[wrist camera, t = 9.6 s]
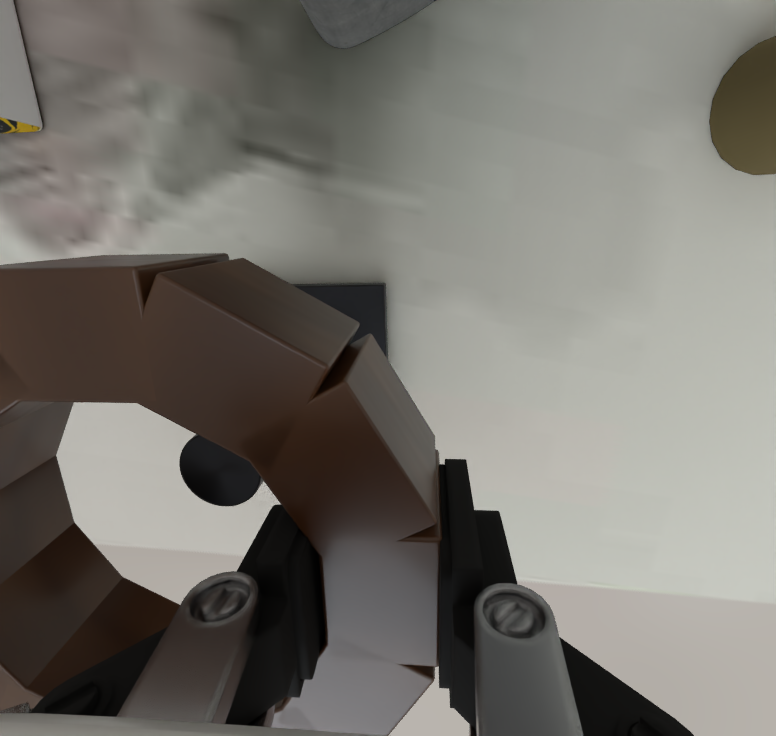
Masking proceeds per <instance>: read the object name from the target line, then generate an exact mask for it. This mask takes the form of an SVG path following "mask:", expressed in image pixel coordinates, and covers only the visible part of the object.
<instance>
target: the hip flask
mask: <svg viewBox="0 0 776 736" xmlns="http://www.w3.org/2000/svg"><path fill="white" fill-rule="evenodd" d="M299 1H300V2H301V4H302V6H303V8H304V9H305V11H306V13H307V15H308V16H309V18H310V20H311V21H312V23H313V25H314V27H315V28H316V30H317V32H318V33H319V35H320V36H321V37H322V38H323V39H324V40H325V41H326V42H327V43H328V44H330V45H332V46H334V47H337V48H351V47H354V46H356V45H358V44H360V43H363V42H365V41H367V40H369V39H371V38H373V37H375V36H377V35H379V34H380V33H382V32H384V31H386V30H388V29H390V28H391V27H393V26H395V25H397V24H399V23H400V22H402V21H404V20H405V19H407V18H409V17H410V16H412V15H414V14H415V13H417V12H418V11H420V10H422V9H423V8H425V7H426V6H428V5H429V4H431V3H432V2H434V1H435V0H299Z"/></svg>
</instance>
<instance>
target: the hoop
mask: <svg viewBox="0 0 776 736" xmlns="http://www.w3.org/2000/svg"><path fill="white" fill-rule="evenodd" d="M358 328H359V322H357V321H356V320H354V319H352V318H350V317H348V316H347V315H345V314H343V313H341V312H340V311H338V310H336V309H334V308H332V307H331V306H329V305H327V304H325V303H323V302H322V301H320V300H318V299H316V298H314V297H313V296H311V295H309V294H307V293H305V292H304V291H302V290H300V289H298V288H297V287H295V286H293V285H291V284H289V283H288V282H286V281H284V280H282V279H280V278H279V277H277V276H275V275H273V274H271V273H270V272H268V271H266V270H264V269H262V268H261V267H259V266H257V265H255V264H253V263H252V262H250V261H248V260H246V259H245V258H240V259H234V260H229V256H228V254H225V253H215V254H155V255H102V256H91V257H80V258H70V259H59V260H48V261H37V262H27V263H16V264H5V265H0V711H1V710H4V709H7V708H10V707H14V706H17V705H20V704H23V703H26V702H28V703H29V706H30V709H32V708H34V707H35V706H36V705H37V704H38V702H39V701H40V700H41V699H42V698H44V697H45V696H46V695H47V694H48V693H49V692H50V691H52V690H53V689H54V688H56V687H57V686H59V685H60V684H62V683H63V682H65V681H67V680H68V679H70V678H72V677H74V676H76V675H77V674H79V673H81V672H83V671H85V670H87V669H89V668H91V667H93V666H94V665H96V664H98V663H100V662H102V661H104V660H106V659H108V658H110V657H111V656H113V655H115V654H117V653H119V652H121V651H123V650H125V649H127V648H128V647H130V646H132V645H134V644H136V643H138V642H140V641H142V640H144V639H145V638H147V637H149V636H151V635H153V634H155V633H157V632H159V631H161V630H162V629H164V628H166V627H168V626H169V624H170V622H171V621H172V619H173V617H174V615H175V614H176V612H177V610H178V608H179V607H180V605H179V604H177V603H175V602H173V601H171V600H169V599H167V598H165V597H163V596H161V595H158V594H157V593H154V592H152V591H150V590H148V589H146V588H144V587H142V586H140V585H138V584H136V583H134V582H132V581H130V580H128V579H126V578H123V577H122V576H121V575H120V573H119V572H118V571H117V570H116V569H115V568H114V567H113V566H112V564H111V563H110V562H109V561H108V560H107V559H106V558H105V556H104V555H103V554H102V553H101V552H100V551H99V550H98V549H97V547H96V546H95V545H94V544H93V543H92V542H91V541H90V539H89V538H88V537H87V536H86V535H85V534H84V533H83V532H82V530H81V529H80V528H79V527H78V526H77V525H76V524H75V523H74V520H73V516H72V512H71V509H70V505H69V501H68V497H67V494H66V490H65V486H64V483H63V479H62V475H61V472H60V468H59V464H58V461H57V457H56V454H57V451H58V448H59V445H60V442H61V439H62V436H63V433H64V430H65V427H66V424H67V421H68V418H69V415H70V412H71V409H72V406H73V403H74V402H109V403H138V404H140V405H142V406H144V407H146V408H148V409H150V410H152V411H153V412H155V413H157V414H159V415H161V416H163V417H165V418H167V419H169V420H171V421H173V422H175V423H176V424H178V425H180V426H182V427H184V428H186V429H188V430H190V431H192V432H194V433H196V434H198V435H199V436H201V437H203V438H205V439H207V440H209V441H211V442H213V443H215V444H217V445H219V446H221V447H223V448H224V449H226V450H228V451H230V452H232V453H234V454H236V455H238V456H240V457H242V458H244V459H246V460H247V461H249V462H250V463H251V464H252V466H253V467H254V468H255V470H256V471H257V472H258V474H259V475H260V476H261V478H262V479H263V480H264V482H265V483H266V484H267V486H268V487H269V488H270V490H271V491H272V492H273V494H274V495H275V497H276V498H277V499H278V501H279V502H280V503H281V505H282V506H283V507H284V509H285V510H286V511H287V513H288V514H289V515H290V517H291V518H292V519H293V521H294V522H295V523H296V525H297V526H298V527H299V529H300V530H301V532H302V533H303V534H304V536H305V537H308V541H309V542H310V544H311V545H312V546H313V548H314V549H315V550H316V552H317V553H318V554H319V564H320V577H321V589H322V602H323V614H324V626H325V631H324V635H323V639H322V643H321V647H320V652H319V657H318V661H317V665H316V669H315V673H314V676H313V679H312V680H306V679H305V680H304V684H303V687H302V691H301V695H300V698H296V697H285V698H283V699H282V700H281V701H279V702H278V703H276V704H275V711H274V719H273V723H272V727H273V728H287V729H301V730H314V731H328V732H341V733H355V734H368V735H382V736H388V735H389V734H390V733H391V732H392V730H393V729H394V728H395V727H396V726H397V724H398V723H399V722H400V721H401V720H402V718H403V717H404V716H405V715H406V714H407V712H408V711H409V710H410V709H411V708H412V706H413V705H414V704H415V703H416V702H417V700H418V699H419V698H420V697H421V696H422V695H423V693H424V692H425V691H426V690H427V688H428V687H429V686H430V685H431V684H432V683H433V681H434V679H435V667H437V666H439V583H440V541H441V540H442V523H441V500H440V476H439V465H440V464H439V452H438V450H436V449H435V435H434V434H433V432H432V431H431V429H430V427H429V426H428V424H427V423H426V421H425V419H424V418H423V416H422V415H421V413H420V411H419V410H418V408H417V406H416V405H415V403H414V402H413V400H412V398H411V397H410V395H409V394H408V392H407V390H406V389H405V387H404V385H403V384H402V382H401V381H400V379H399V377H398V376H397V374H396V373H395V371H394V369H393V368H392V366H391V364H390V363H389V361H388V360H387V358H386V356H385V355H384V353H383V352H382V350H381V348H380V347H379V345H378V344H377V342H376V340H375V339H374V337H373V335H372V334H367V335H366V336H364V337H362V338H360V339H359V340H357V341H355V342H354V343H352V344H350V342H351V341H352V339H353V337H354V335H355V333H356V331H357V329H358ZM349 344H350V345H349Z"/></svg>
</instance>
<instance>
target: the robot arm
mask: <svg viewBox="0 0 776 736" xmlns="http://www.w3.org/2000/svg"><path fill="white" fill-rule="evenodd" d="M439 476H440V500H441V523H442V540H441V541H440V583H439V688H449V691H450V708H455V709H456V711H458V713H459V714H461V716H462V717H464V719H465V720H466V721H467V722H468V723H469V724H470V725H469V736H694V735H693V734H692V733H691V732H690V731H689V730H688V729H687V728H685V727H684V726H683V725H682V724H681V723H679V722H678V721H677V720H676V719H675V718H673V717H672V716H670V715H669V714H667V713H666V712H664V711H663V710H661V709H660V708H659V707H657V706H656V705H654V704H653V703H652V702H650V701H649V700H648V699H646V698H645V697H643V696H642V695H640V694H639V693H638V692H636V691H635V690H633V689H632V688H631V687H629V686H628V685H626V684H625V683H623V682H622V681H621V680H619V679H618V678H616V677H615V676H614V675H612V674H611V673H609V672H608V671H606V670H605V669H604V668H602V667H601V666H600V665H598V664H597V663H595V662H593V661H592V660H591V659H590V658H588V657H587V656H585V655H584V654H583V653H581V652H580V651H578V650H577V649H575V648H574V647H573V646H571V645H570V644H568V643H567V642H565V641H564V640H563V639H561V638H560V637H559V634H558V630H557V625H556V621H555V618H554V615H553V612H552V610H551V608H550V606H549V605H548V604H547V602H546V601H545V600H544V599H543V598H542V597H541V596H540V595H538V594H537V593H536V592H534V591H532V590H531V589H528V588H526V587H524V586H521V585H517V581H516V577H515V573H514V569H513V565H512V561H511V556H510V552H509V548H508V544H507V540H506V536H505V532H504V528H503V524H502V520H501V516H500V513H499V511H485V510H474V506H473V500H472V494H471V487H470V481H469V475H468V469H467V462H466V459H445V465H441V464H440V465H439ZM324 631H325V626H324V614H323V602H322V589H321V577H320V564H319V554H318V553H317V552H316V550H315V549H314V548H313V546H312V545H311V544H310V542H309V541H308V537H305V536H304V534H303V533H302V532H301V530H300V529H299V527H298V526H297V525H296V523H295V522H294V521H293V519H292V518H291V517H290V515H289V514H288V513H287V511H286V510H285V509H284V507H283V506H282V505H274V506H273V507H272V509H271V510H270V512H269V514H268V516H267V517H266V519H265V521H264V523H263V525H262V526H261V528H260V530H259V532H258V534H257V536H256V537H255V539H254V541H253V543H252V545H251V546H250V548H249V550H248V552H247V554H246V555H245V557H244V559H243V561H242V563H241V565H240V566H239V568H238V570H237V572H234V571H233V572H224V573H220V574H217V575H214V576H211V577H209V578H207V579H205V580H203V581H201V582H200V583H199V584H197V585H196V586H195V587H194V588H192V590H190V592H189V593H188V594H187V596H186V597H185V598H184V600H183V601H182V603H181V605H180V607H179V608H178V610H177V612H176V614H175V615H174V617H173V619H172V621H171V622H170V624H169V626H168V627H166V628H164V629H162V630H161V631H159V632H157V633H155V634H153V635H151V636H149V637H147V638H145V639H144V640H142V641H140V642H138V643H136V644H134V645H132V646H130V647H128V648H127V649H125V650H123V651H121V652H119V653H117V654H115V655H113V656H111V657H110V658H108V659H106V660H104V661H102V662H100V663H98V664H96V665H94V666H93V667H91V668H89V669H87V670H85V671H83V672H81V673H79V674H77V675H76V676H74V677H72V678H70V679H68V680H67V681H65V682H63V683H62V684H60V685H59V686H57V687H56V688H54V689H53V690H52V691H50V692H49V693H48V694H47V695H46V696H45V697H44V698H42V699H41V700H40V701H39V702H38V704H37V705H36V706H35V707H34V708H32V709H30V706H29V703H28V702H26V703H23V704H20V705H17V706H14V707H10V708H7V709H4V710H1V711H0V736H382V735H368V734H355V733H341V732H328V731H314V730H301V729H287V728H273V727H272V723H273V719H274V711H275V704H276V703H278V702H279V701H281V700H282V699H283V698H285V697H296V698H300V695H301V691H302V687H303V684H304V680H305V679H306V680H312V679H313V676H314V673H315V669H316V665H317V661H318V657H319V652H320V647H321V643H322V639H323V635H324Z"/></svg>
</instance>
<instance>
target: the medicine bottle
mask: <svg viewBox="0 0 776 736" xmlns="http://www.w3.org/2000/svg"><path fill="white" fill-rule="evenodd" d="M42 128H43V125H42V120H41V116H40V111H39V107H38V103H37V99H36V95H35V90H34V86H33V82H32V78H31V73H30V69H29V65H28V61H27V56H26V52H25V48H24V44H23V39H22V35H21V31H20V27H19V22H18V18H17V14H16V10H15V5H14V1H13V0H0V133H17V132H35V131H40V130H41V129H42Z"/></svg>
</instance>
